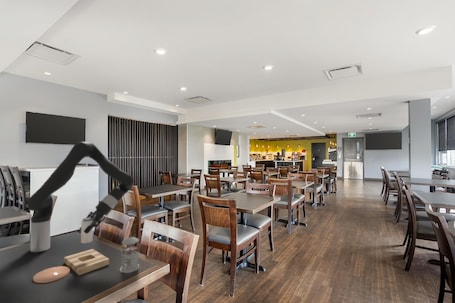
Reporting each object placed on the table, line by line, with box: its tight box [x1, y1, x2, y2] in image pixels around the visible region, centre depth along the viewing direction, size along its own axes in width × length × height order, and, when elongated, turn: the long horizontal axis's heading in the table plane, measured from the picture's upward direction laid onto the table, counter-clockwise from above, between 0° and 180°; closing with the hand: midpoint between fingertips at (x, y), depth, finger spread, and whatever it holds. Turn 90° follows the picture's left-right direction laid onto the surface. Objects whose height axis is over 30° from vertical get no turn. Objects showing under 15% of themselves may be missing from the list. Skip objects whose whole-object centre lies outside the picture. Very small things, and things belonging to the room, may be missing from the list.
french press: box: [119, 218, 140, 274], centre depth 120 cm, size 10×12×25 cm
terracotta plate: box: [32, 265, 71, 284], centre depth 112 cm, size 14×14×1 cm
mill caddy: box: [63, 248, 110, 276], centre depth 124 cm, size 20×14×3 cm
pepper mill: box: [80, 217, 94, 244], centre depth 124 cm, size 5×5×12 cm
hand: (83, 231), depth 123 cm, fingers closed on pepper mill, 5 cm apart
